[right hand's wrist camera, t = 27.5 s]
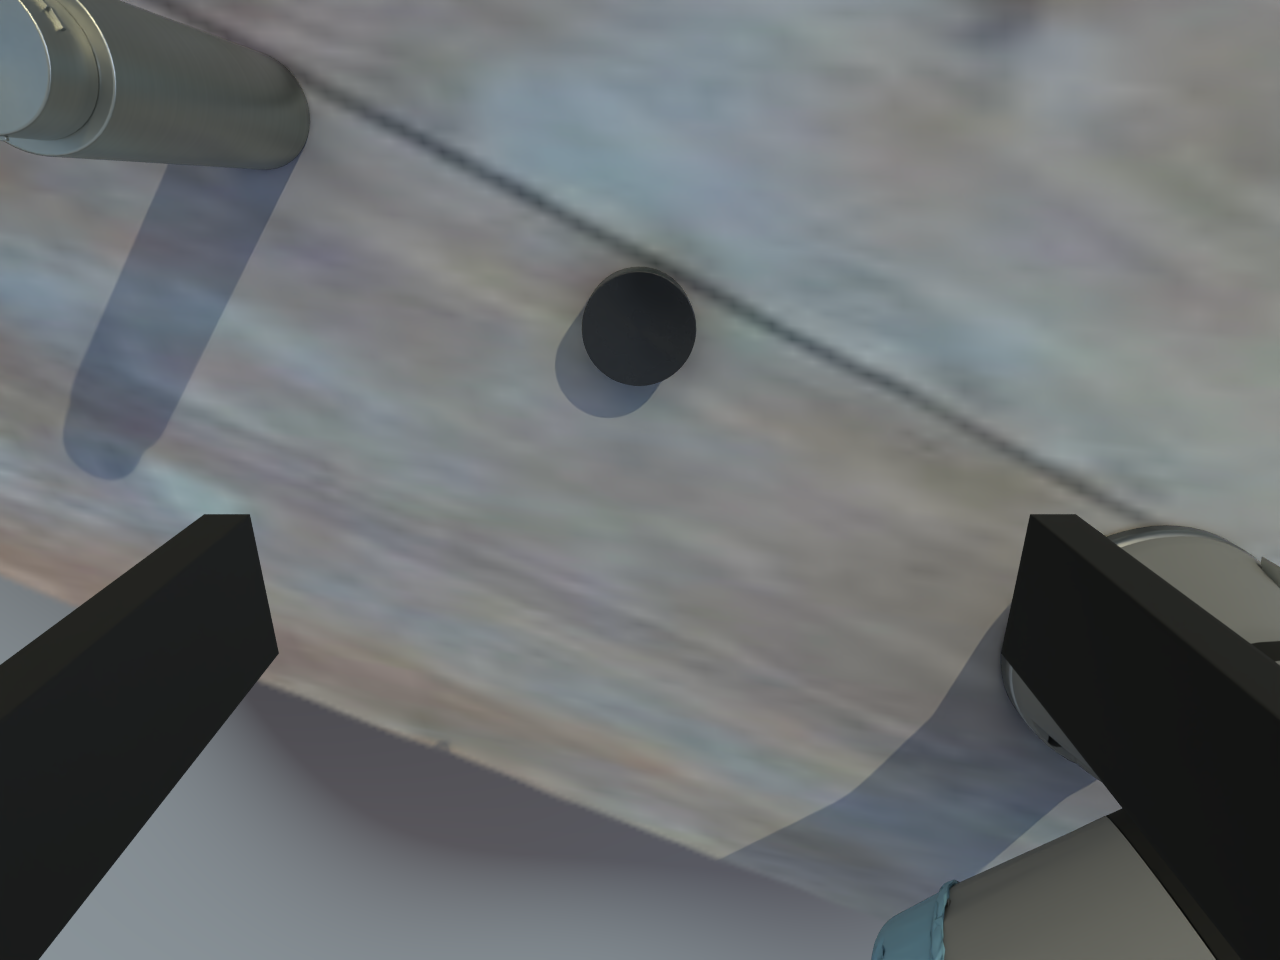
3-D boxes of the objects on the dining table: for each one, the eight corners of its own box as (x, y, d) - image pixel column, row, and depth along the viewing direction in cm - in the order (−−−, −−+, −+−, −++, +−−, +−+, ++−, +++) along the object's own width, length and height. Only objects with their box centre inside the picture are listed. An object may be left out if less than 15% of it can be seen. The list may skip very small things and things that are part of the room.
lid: (708, 351, 37) (712, 360, 35) (611, 391, 38) (609, 402, 36) (668, 248, 36) (670, 251, 34) (567, 293, 36) (563, 298, 34)
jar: (193, 46, 33) (-155, -68, 18) (304, 54, 33) (43, -53, 18) (209, 166, 34) (-98, 146, 20) (315, 173, 34) (84, 159, 20)
